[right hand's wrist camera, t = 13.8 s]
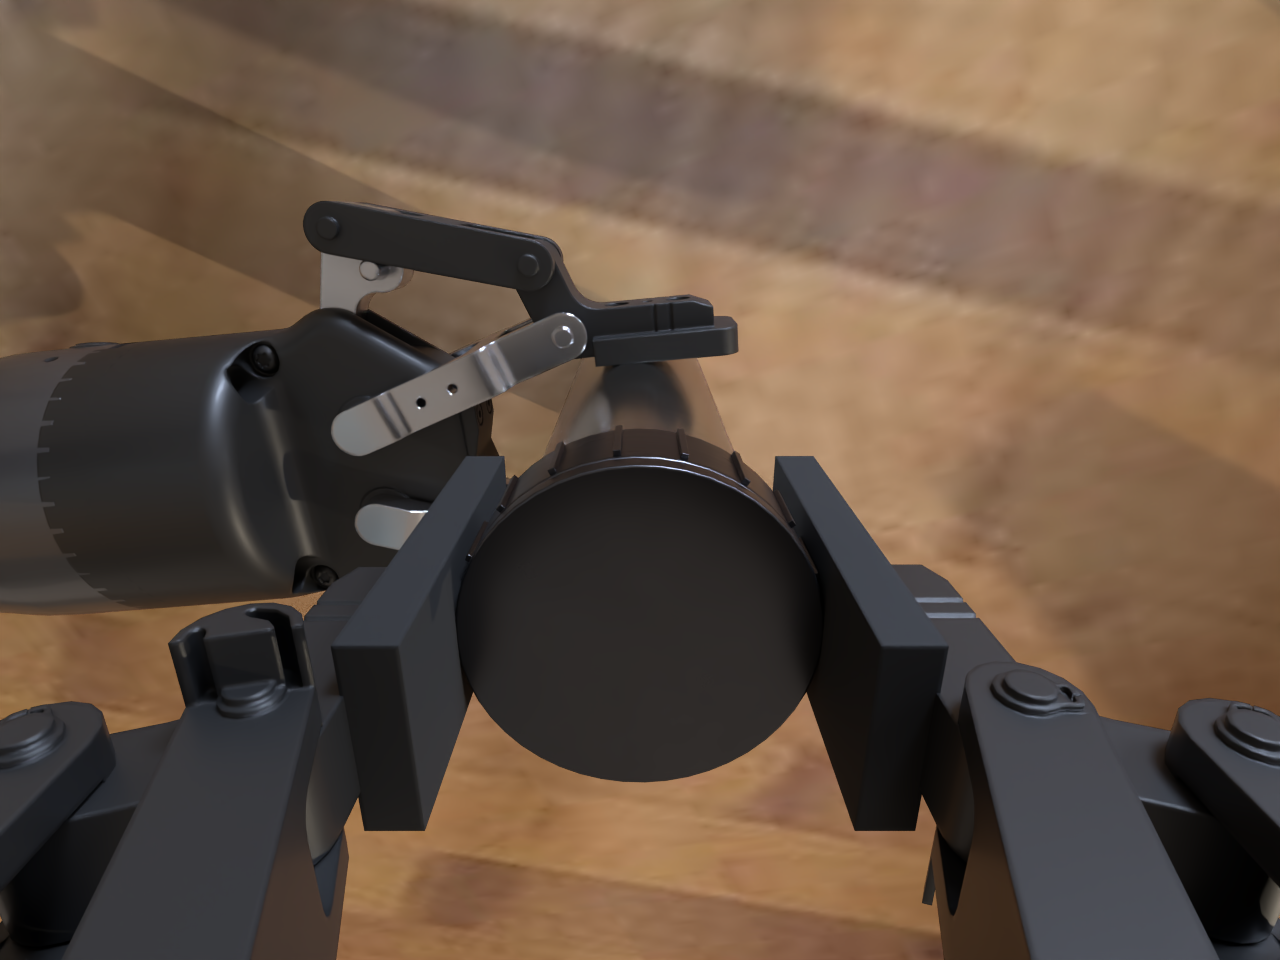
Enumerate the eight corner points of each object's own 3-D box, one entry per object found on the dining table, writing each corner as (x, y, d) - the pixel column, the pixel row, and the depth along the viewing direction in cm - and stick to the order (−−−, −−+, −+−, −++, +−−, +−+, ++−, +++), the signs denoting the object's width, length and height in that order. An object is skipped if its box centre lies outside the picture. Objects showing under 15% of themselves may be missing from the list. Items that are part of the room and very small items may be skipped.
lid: (847, 464, 11) (883, 507, 10) (748, 737, 13) (764, 814, 11) (506, 387, 11) (482, 418, 9) (456, 681, 13) (429, 752, 11)
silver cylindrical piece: (698, 445, 26) (773, 737, 12) (577, 442, 26) (499, 732, 12) (706, 322, 25) (802, 482, 10) (577, 319, 25) (484, 474, 10)
